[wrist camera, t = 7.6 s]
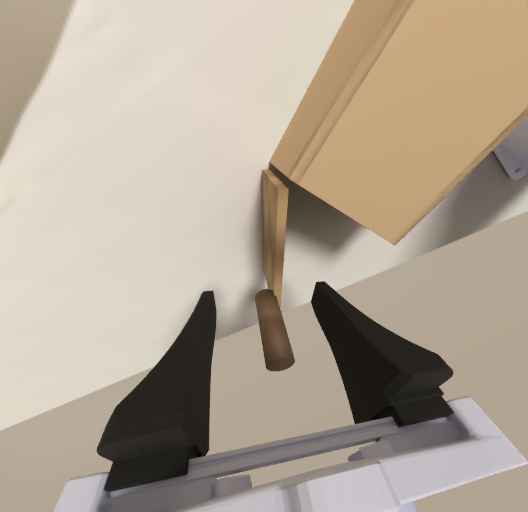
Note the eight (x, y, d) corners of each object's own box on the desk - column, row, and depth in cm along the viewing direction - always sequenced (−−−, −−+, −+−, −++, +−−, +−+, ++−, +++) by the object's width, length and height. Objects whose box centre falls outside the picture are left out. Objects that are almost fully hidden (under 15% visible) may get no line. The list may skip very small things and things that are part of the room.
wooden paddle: (268, 267, 21) (297, 368, 12) (249, 268, 20) (265, 373, 12) (269, 169, 15) (327, 229, 6) (243, 170, 15) (266, 234, 6)
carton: (453, 92, 14) (569, 76, 9) (351, 214, 19) (394, 245, 14) (372, -33, 10) (502, -176, 5) (269, 161, 15) (289, 179, 10)
